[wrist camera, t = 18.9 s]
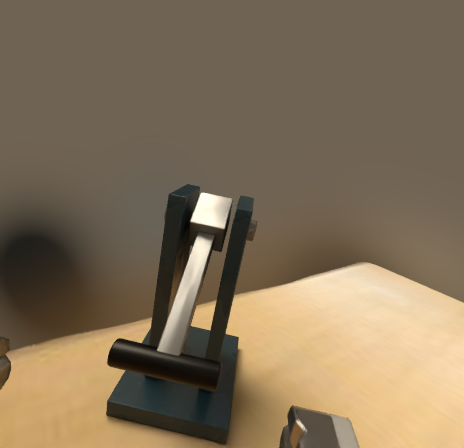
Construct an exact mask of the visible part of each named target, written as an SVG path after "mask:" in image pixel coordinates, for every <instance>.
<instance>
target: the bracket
mask: <svg viewBox="0 0 464 448" xmlns="http://www.w3.org/2000/svg"><path fill="white" fill-rule="evenodd" d="M199 191H200V187H198V186H193V185H189V184H187V185H185V186H183V187H181V188H180V189H178V190H176V191H174V192H172V193H170V194H169V198H168V204H167V208H166V212H165V227H164V234H163V242H162V250H161V257H160V265H159V272H158V279H157V286H156V294H155V301H154V309H153V316H152V324H151V329H150V330H149V332H148V334H147V335H146V337H145V339H144V340H143V342H142V344H146V345H151V346H155V347H158V344H159V341H160V339H161V336H162V333H163V330H164V327H165V324H166V322H167V319H168V316H169V313H170V310H171V307H172V304H173V302H174V299H175V296H176V293H177V290H178V287H179V284H180V282H181V279H182V276H183V273H184V270H185V267H186V265H187V262H188V258H189V251H190V220H191V217H192V215H193V212H194V210H195V207H196V204H197V202H198V197H199ZM253 201H254V199H253V198H250V197H245V196H240V199H239V201H238V204H237V207H236V210H235V214H234V220H233V224H232V229H231V234H230V239H229V244H228V248H227V254H226V258H225V263H224V268H223V273H222V278H221V282H220V287H219V292H218V297H217V302H216V307H215V312H214V316H213V321H212V326H211V331H210V330H205V329H201V328H197V327H192V326H190V329H189V333H188V336H187V340H186V343H185V347H184V350H183V353H185V354H189V355H193V356H198V357H202V358H206V359H211V360H215V361H219V362H221V363H222V367H221V373H220V378H219V383H218V387H217V390H216V391H211V390H207V389H202V388H198V387H194V386H190V385H186V384H181V383H177V382H173V381H169V380H164V379H160V378H156V377H152V376H148V375H143V374H139V373H135V372H131V371H127V370H126V371H125V372H124V374H123V376H122V377H121V379H120V381H119V382H118V384H117V386H116V387H115V389H114V391H113V392H112V394H111V396H110V398H109V399H108V401H107V412H106V414H107V415H110V416H114V417H118V418H122V419H126V420H130V421H135V422H139V423H143V424H147V425H151V426H155V427H159V428H163V429H167V430H171V431H176V432H180V433H184V434H188V435H192V436H196V437H200V438H204V439H208V440H212V441H217V442H221V443H226V440H227V436H228V433H229V426H230V417H231V407H232V397H233V387H234V378H235V368H236V358H237V349H238V339H239V337H236V336H231V335H227V334H225V333H226V328H227V324H228V320H229V315H230V311H231V306H232V302H233V297H234V293H235V288H236V284H237V279H238V275H239V271H240V266H241V262H242V257H243V253H244V248H245V244H246V240H247V241H253V240H254V236H255V232H256V227H257V221H254V220H251V217H252V212H253Z"/></svg>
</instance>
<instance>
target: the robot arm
mask: <svg viewBox="0 0 464 448" xmlns="http://www.w3.org/2000/svg"><path fill="white" fill-rule="evenodd" d="M9 350H10V343H9V339H6V338H4V337H0V390H1V389H2V387H3V386H4V384H5V382H6V381H7V379H8V378H9V374H10V371H11V362H10V360H9V359H8V357H7V356H6V355H5V354H6V353H7V352H8V351H9ZM287 416H288V425H287V426H285V427H284V428H283V431H282V435H281V439H280V447H279V448H360V447H359V444H358V441H357V438H356V435H355V432H354V429H353V427H352V424H351V421H350V420H349V419H348V418H346V417H341V416H337V415H333V414H327V413H324V412H320V411H315V410H311V409H306V408H302V407H298V406H293V405H292V406H291V408H290V410H289V412H288V415H287Z"/></svg>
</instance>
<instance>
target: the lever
mask: <svg viewBox="0 0 464 448" xmlns="http://www.w3.org/2000/svg"><path fill="white" fill-rule="evenodd" d="M232 202H233V199H231V198H226V197H221V196H217V195H212V194H207V193H201V194H200V197H199V199H198V202H197V204H196V207H195V210H194V212H193V215H192V217H191V220H190V245H192V246H193V247H192V250H191V253H190V256H189V259H188V262H187V265H186V267H185V270H184V273H183V276H182V279H181V282H180V284H179V287H178V290H177V293H176V296H175V299H174V302H173V304H172V307H171V310H170V313H169V316H168V319H167V322H166V324H165V327H164V330H163V333H162V336H161V339H160V341H159V344H158V347H155V346H151V345H146V344H142V343H138V342H133V341H129V340H125V339H121V338H119V339H117V340H116V341H115V342H114V344H113V345H112V347H111V349H110V352H109V355H108V361H107V364H108V366H110V367H114V368H118V369H122V370H127V371H131V372H135V373H139V374H143V375H148V376H152V377H156V378H160V379H164V380H169V381H173V382H177V383H181V384H186V385H190V386H194V387H198V388H202V389H207V390H211V391H216V390H217V387H218V383H219V378H220V373H221V367H222V363H221V362H219V361H215V360H211V359H206V358H202V357H198V356H193V355H189V354H185V353H183V350H184V347H185V343H186V340H187V336H188V333H189V329H190V326H191V322H192V319H193V315H194V312H195V308H196V305H197V301H198V298H199V295H200V291H201V288H202V284H203V281H204V277H205V274H206V270H207V267H208V263H209V260H210V256H211V253H212V250H215V251H219V252H221V251H222V248H223V244H224V240H225V236H226V232H227V228H228V225H229V219H230V214H231V208H232Z"/></svg>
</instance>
